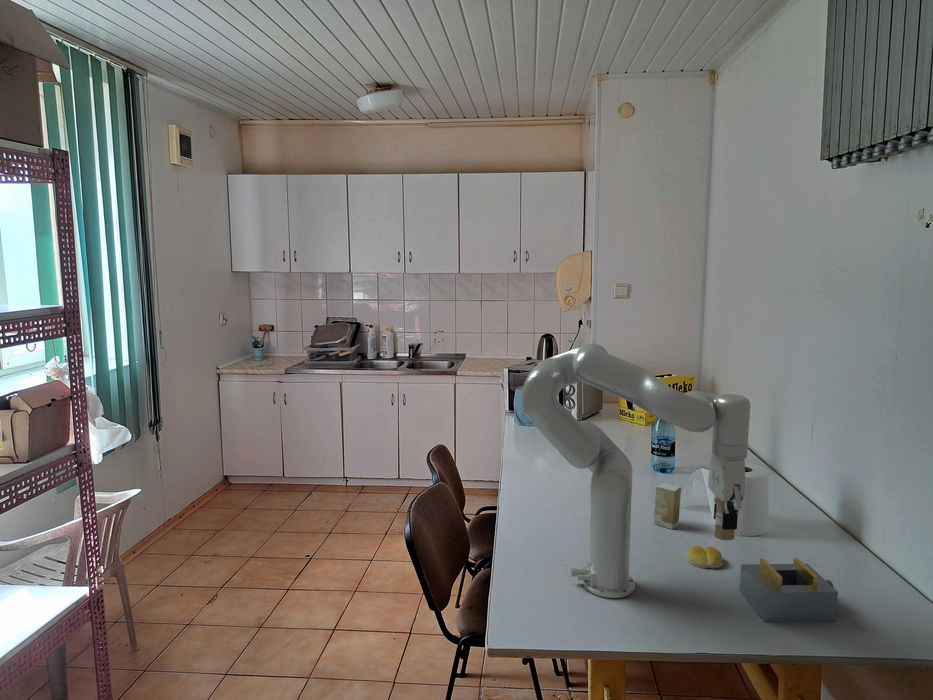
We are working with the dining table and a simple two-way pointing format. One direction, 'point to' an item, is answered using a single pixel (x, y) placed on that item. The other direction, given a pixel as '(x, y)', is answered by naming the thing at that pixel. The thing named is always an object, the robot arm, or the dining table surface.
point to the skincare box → (667, 505)
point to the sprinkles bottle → (719, 531)
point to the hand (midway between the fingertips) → (725, 523)
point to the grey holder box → (788, 592)
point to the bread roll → (704, 557)
